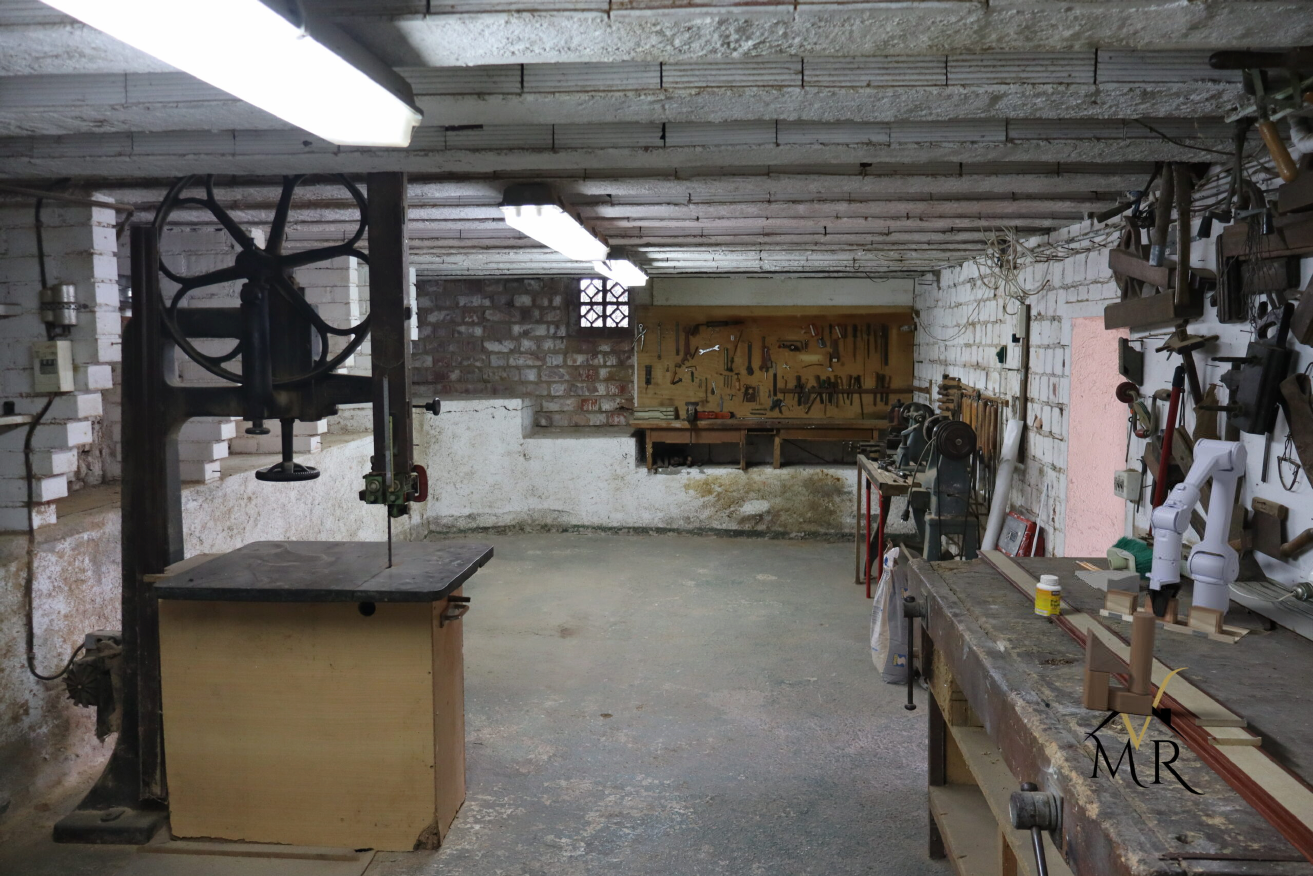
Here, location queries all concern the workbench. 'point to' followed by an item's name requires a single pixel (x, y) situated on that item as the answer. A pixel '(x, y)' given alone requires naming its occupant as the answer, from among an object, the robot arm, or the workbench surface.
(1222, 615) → the faced block
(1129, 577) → the ramp
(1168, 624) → the long shallow wooden tray
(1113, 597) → the faced block
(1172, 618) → the turned block
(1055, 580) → the supplement bottle
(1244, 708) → the workbench surface
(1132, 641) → the wooden block
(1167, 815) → the workbench surface
